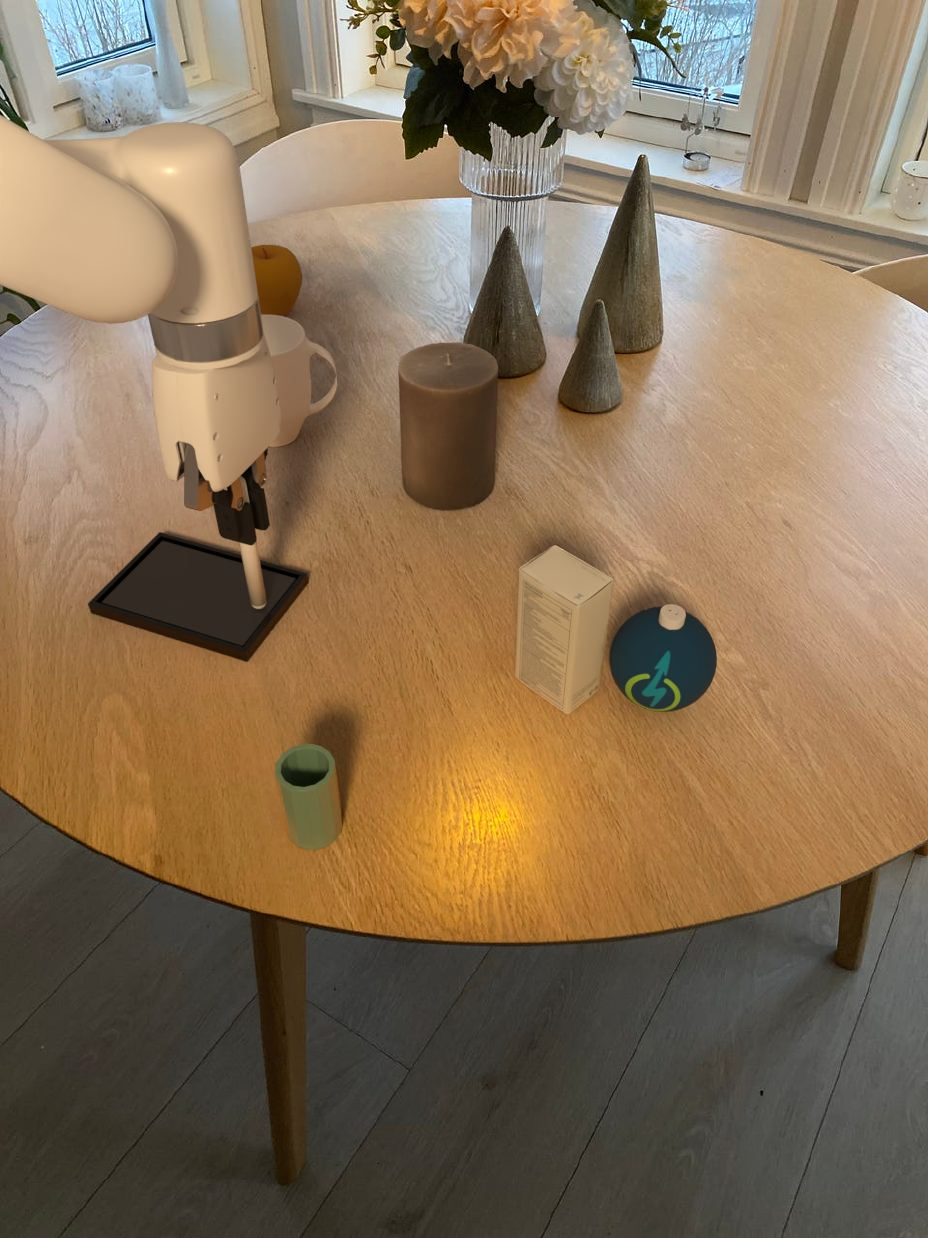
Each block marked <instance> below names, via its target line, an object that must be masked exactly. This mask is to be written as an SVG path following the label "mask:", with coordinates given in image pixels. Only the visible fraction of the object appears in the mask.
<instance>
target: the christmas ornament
mask: <svg viewBox="0 0 928 1238" xmlns="http://www.w3.org/2000/svg"><path fill="white" fill-rule="evenodd" d="M608 662H609V668H610V672H611V676H612V679H613V681H614V683H615V685H616V686H617V688H618V689H619V691H620V692H621V693H622V694H623V696H624V697H625V698H626V699H628V700H629V701H630V702H632V703H633V704H634V705H636V706H637V707H640V708H643V709H645V710H648V711H653V712H660V713H669V712H675V711H679V710H682V709H684V708H685V709H686V708H687V707H689V706H691V705H692V704H694V703H696V702H697V701H698V700H700V699H701V698H702V697H703V696H704V694H705V693H706V692H707V691H708V689H709V688H710V686H711V684H712V683H713V680H714V678H715V675H716V672H717V667H718V666H717V665H718V654H717V648H716V644H715V642H714V639H713V637H712V635H711V633H710V631H709V630H708V628H707V627H706V626H705V624H704V623H703V622H702V621H700V619H698V617H696V616H695V615H693V614H692V613H689V612H688V611H686V610H685V609H684V608H683V607H682V606H680V605H678V604H674V603H669V604H667V603H666V604H665V605H663V606H653V607H648V608H645V609H642V610H640V611H638V612H636V613H634V614H633V615H631V616H630V617H629V618H627V619H626V620H625V621H624V622H623V623H622V625H620V626H619V628H618V629H617V631H616V632H615V635H614V637H613V639H612V641H611V645H610V649H609V661H608Z"/></svg>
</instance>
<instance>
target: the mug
mask: <svg viewBox="0 0 928 1238" xmlns="http://www.w3.org/2000/svg"><path fill="white" fill-rule="evenodd" d="M261 320H262V327H263V332H264V335H265V338H266V341H267V344H268V348H269V351H270V355H271V359H272V363H273V368H274V372H275V377H276V382H277V387H278V393H279V400H280V408H281V429H280V432H279V434H278V436H277V437H276V438H275V440H274V441H273V442H272V443H271V444H270V446H269V448H278V447H279V448H280V447H284V446H287V445H289V444H291V443H293V442H294V441H296V439H297V438H298V436H299V435H300V431H301V428H302V426H303V424H304V422H305V420H306V418H308V417H309V416H310V415H312V414H317V413H319V412H320V411H322V410H323V409H324V408H325V407H327V406H328V405H329V404H330V403H331V401H332V400H333V399H334V396H335V394H336V392H337V388H338V374H337V367H336V362H335V360H334V358H333V356H332V354H331V353H330V351H328V350H327V349H326V348H324V347H323V346H321V345H320V344H318V343H316V342H313V341H310V340H309V339H308V338H307V337H306V332H305V329H304V327H303V326H302V325H301V323H299V322H298V321H296V320H295V319H292V318H290V317H287V316H284V317H283V316H278V315H261ZM315 354H317V355H319V356H321V357H322V358H323V359H326V361H328V362H329V364H330V365H331V367H332V368H333V370H334V372H335V379H334V382H333V385H332V387H331V388H330V390H329V391H328V392H327V394H325V395H324V396H323V397H322V398H321V399H319V400H318V401H316V402H315V403H312V402H311V401H312V381H311V380H312V377H311V365H310V364H311V357H312V356H313V355H315Z"/></svg>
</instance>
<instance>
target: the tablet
mask: <svg viewBox="0 0 928 1238" xmlns="http://www.w3.org/2000/svg"><path fill="white" fill-rule="evenodd" d="M162 541H166V542H169V543H173V544H176V545H180V546H183V547H187V548H190V549H194V550H197V551H201V552H205V553H208V554H212V555H215V556H219V557H222V558H226V559H229V560H233V561H236V562H240V563H243V560H242V555H241V553H237V552H233V551H230V550H227V549H222V548H219V547H215V546H211V545H208V544H204V543H201V542H197V541H195V540H194V541H193V540H190V539H186V538H183V537H179V536H176V535H172V534H169V533H165V532H162V531H159V532H158V533H157V534H156V535H155V536H154V537H153V538H152V539H151V540H150V541H149V542H148V543H146V545H145V546H143V548H142V549H140V551H139V552H138V553H137V554H136V555H135V556H134V557H133V558H132V559H131V560H130V561H129V562H128V563H127V564H126V565H125V566H124V567H122V569H121V570H120V571H118V573H116V575H115V576H114V577H113V578H112V579H111V580H110V581H109V582H107V584H105V586H104V587H103V588H102V589H101V590H100V591H99V592H98V593H97V594H96V595H95V596H93V598H92V599H90V601H89V602H88V603H87V605H88V609H89V611H90V614H92V615H96V616H99V617H101V618H105V619H107V620H111V621H115V622H118V623H121V624H123V625H128V626H130V627H134V628H136V629H140V630H144V631H147V632H150V633H152V634H156V635H159V636H162V637H166V638H169V639H172V640H176V641H178V642H182V643H185V644H189V645H191V646H194V647H197V648H201V649H204V650H207V651H211V652H213V653H218V654H220V655H223V656H227V657H229V658H233V659H236V660H240V661H243V662H246V663H248V662H249V661H250V660H251V658H252V657H253V656H254V654H255V653H257V651H258V649H259V648H260V647H261V645H262V644H263V643H264V641H265V640H266V639H267V637H268V636H269V635H270V634H271V632H272V631H274V628H275V627H276V626H277V625H278V623H279V622H280V621H281V620H282V619H283V617H284V616H285V614H286V613H287V612H288V610H289V609H290V608H291V607H292V605H293V604H294V602H296V600H297V599H298V597H300V595H301V593H303V591H304V590H305V588H306V587H307V586H308V585H309V576H308V575H309V574H308V572H304V571H300V570H297V569H294V568H289V567H286V566H284V565H283V566H282V565H279V564H276V563H272V562H270V561H269V562H268V561H265V560H261V559H260V565H261V569H265V570H268V571H272V572H275V573H279V574H282V575H286V576H289V577H293V578H296V581H295V583H294V584H293V585H292V586H291V588H290V589H289V590H288V592H287V593H286V594H285V595H284V597H283V598H282V599H281V600H280V602H279V603H278V604H277V605H276V607H275V608H274V609H273V611H272V612H271V613H270V614H269V616H268V617H267V618H266V619H265V621H264V622H263V623H262V624H261V626H260V627H259V628H258V630H257V631H256V632H255V633H254V635H253V636H252V637H251V638H250V640H249V641H248V642H247V643H246V645H245V646H244V647H241V646H238V645H234V644H231V643H228V642H225V641H221V640H218V639H215V638H212V637H208V636H205V635H202V634H199V633H195V632H192V631H189V630H186V629H183V628H179V627H176V626H173V625H170V624H166V623H163V622H160V621H157V620H153V619H150V618H147V617H144V616H140V615H137V614H134V613H131V612H127V611H124V610H121V609H118V608H114V607H111V606H108V605H105V604H102V601H103V600H104V599H105V598H106V597H107V596H108V595H109V594H110V593H111V592H112V591H113V590H114V589H115V588H116V587H117V586H118V585H119V584H120V583H121V582H122V581H123V580H124V579H125V578H126V577H127V576H128V575H129V574H130V573H131V572H132V571H133V570H134V569H135V568H136V567H137V566H138V565H139V564H140V563H141V562H142V561H143V560H144V559H145V558H146V557H147V556H148V555H149V554H150V553H151V552H152V551H153V550H154V549H155V548H156V547H157V546H158V545H159V544H160V543H161V542H162Z"/></svg>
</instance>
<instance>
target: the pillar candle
mask: <svg viewBox="0 0 928 1238" xmlns="http://www.w3.org/2000/svg"><path fill="white" fill-rule="evenodd" d="M397 366H398V367H397V369H398V370H397V371H398V397H399V399H398V401H399V421H400V422H399V432H400V461H401V462H400V463H401V466H400V467H401V475H402V476H401V478H402V487H403V490H404V491H405V493H406V495H407V496H408V497H409V498H410V499H412V500H413V501H415V503H418V504H420V505H421V506H423V507H426V508H428V509H433V510H436V511H437V510H439V511H443V512H444V511H459V510H462V509H463V510H464V509H467V508H472V507H476V506H477V505H479V504H482V503H483V501H485V500H486V499H488V498H489V497H490V495H491V494H492V492H493V491H494V488H495V475H496V471H495V470H496V452H497V451H496V448H497V421H498V419H497V418H498V417H497V416H498V391H499V390H498V388H499V385H498V384H499V364H498V361H497V359H496V358H495V357H494V356H493V354H491V353H490V352H489V351H487V350H485V349H483V348H481V347H478V346H476V345H474V344H472V343H465V342H459V341H458V342H456V341H455V342H454V341H453V342H437V343H435V342H434V343H433V342H432V343H429V344H425V345H422V346H418V347H416V348H413V349H412V350H410V351H408V352H407V353H405V354H403V355H401V356H400V357H399V362H398V365H397Z"/></svg>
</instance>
